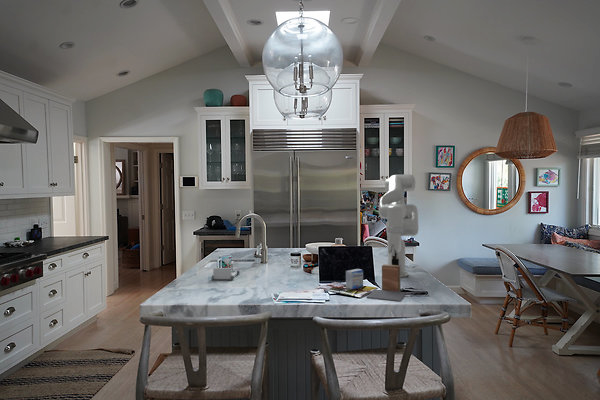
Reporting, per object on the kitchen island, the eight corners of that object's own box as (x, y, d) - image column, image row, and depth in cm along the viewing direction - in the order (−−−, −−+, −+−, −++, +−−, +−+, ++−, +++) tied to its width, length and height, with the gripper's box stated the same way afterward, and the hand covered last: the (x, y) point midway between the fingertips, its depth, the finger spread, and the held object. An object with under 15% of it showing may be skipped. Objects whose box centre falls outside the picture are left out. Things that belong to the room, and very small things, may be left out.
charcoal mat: (374, 290, 192) (374, 289, 192) (406, 293, 186) (406, 292, 186) (366, 298, 180) (366, 296, 180) (400, 301, 173) (400, 300, 173)
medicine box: (351, 289, 194) (351, 272, 194) (345, 287, 198) (345, 270, 198) (363, 286, 199) (363, 269, 199) (357, 285, 203) (357, 268, 202)
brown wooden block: (383, 288, 195) (383, 264, 195) (400, 290, 192) (400, 265, 191) (381, 290, 191) (381, 266, 191) (398, 292, 188) (398, 267, 187)
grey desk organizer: (221, 257, 234) (240, 257, 233) (221, 273, 235) (240, 274, 233) (211, 263, 216) (231, 263, 215) (211, 281, 217) (232, 281, 216)
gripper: (390, 228, 208) (390, 263, 209) (384, 231, 194) (384, 268, 195) (405, 228, 205) (405, 264, 206) (399, 232, 191) (400, 269, 192)
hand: (395, 266), depth 200 cm, fingers closed
